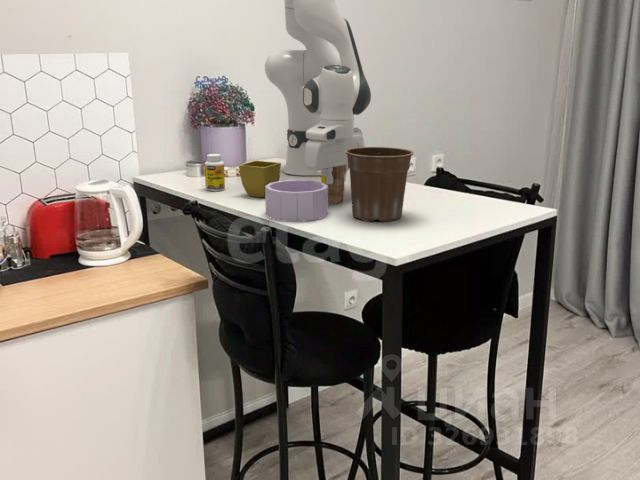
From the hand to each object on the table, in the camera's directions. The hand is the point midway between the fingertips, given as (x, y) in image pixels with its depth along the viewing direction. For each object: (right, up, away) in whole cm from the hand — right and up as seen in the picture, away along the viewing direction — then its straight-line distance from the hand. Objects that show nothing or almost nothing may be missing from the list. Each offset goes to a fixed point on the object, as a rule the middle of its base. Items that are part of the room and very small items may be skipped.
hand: (336, 182), depth 171 cm
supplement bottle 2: (-1, -2, +14) cm, 14 cm away
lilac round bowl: (-10, -9, -10) cm, 17 cm away
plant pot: (+10, -10, -12) cm, 18 cm away
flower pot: (-21, -3, +9) cm, 23 cm away
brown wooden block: (0, -5, +2) cm, 5 cm away
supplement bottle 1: (-35, -1, +16) cm, 38 cm away
